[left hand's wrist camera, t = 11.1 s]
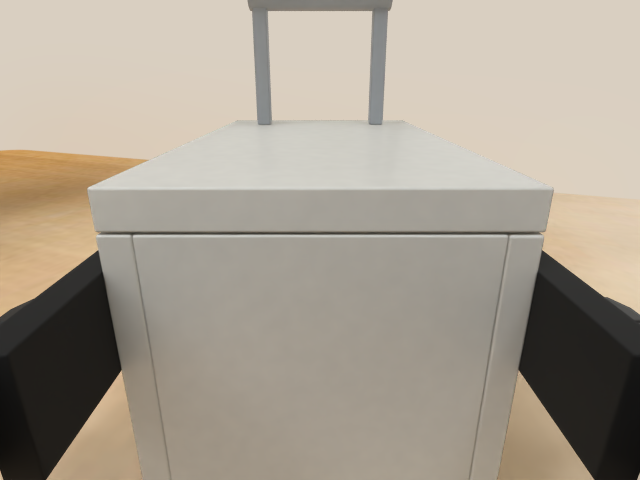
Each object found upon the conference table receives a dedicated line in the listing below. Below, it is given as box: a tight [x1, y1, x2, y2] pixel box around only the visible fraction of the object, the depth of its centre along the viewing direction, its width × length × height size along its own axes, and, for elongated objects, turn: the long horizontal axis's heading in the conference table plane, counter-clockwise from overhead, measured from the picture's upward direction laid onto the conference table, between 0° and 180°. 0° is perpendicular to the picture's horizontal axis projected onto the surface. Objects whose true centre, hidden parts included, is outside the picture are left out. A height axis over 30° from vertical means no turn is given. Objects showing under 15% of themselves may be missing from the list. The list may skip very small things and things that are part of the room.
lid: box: [87, 0, 554, 232], centre depth 16 cm, size 18×10×8 cm, turn 0°
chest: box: [96, 232, 544, 480], centre depth 19 cm, size 16×10×9 cm, turn 0°
